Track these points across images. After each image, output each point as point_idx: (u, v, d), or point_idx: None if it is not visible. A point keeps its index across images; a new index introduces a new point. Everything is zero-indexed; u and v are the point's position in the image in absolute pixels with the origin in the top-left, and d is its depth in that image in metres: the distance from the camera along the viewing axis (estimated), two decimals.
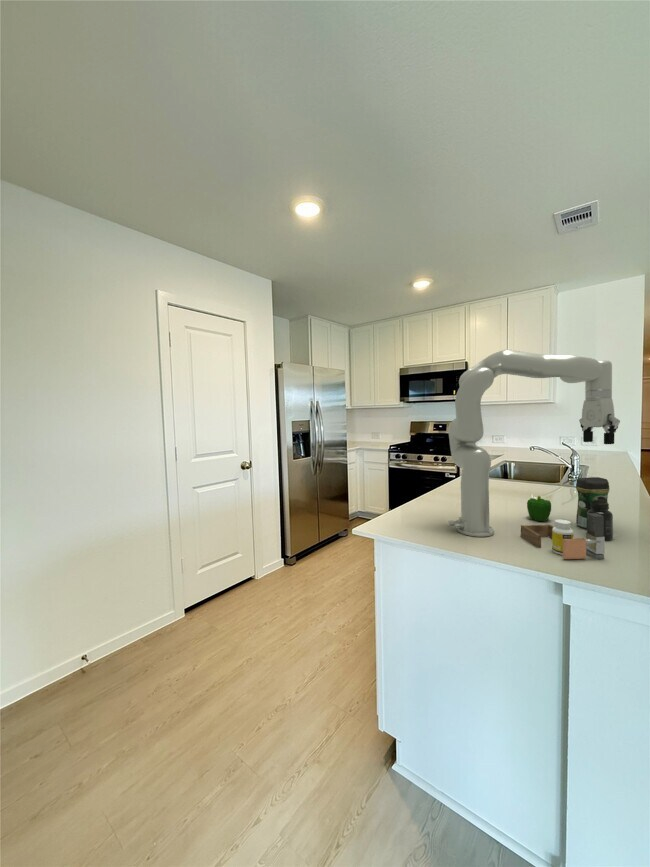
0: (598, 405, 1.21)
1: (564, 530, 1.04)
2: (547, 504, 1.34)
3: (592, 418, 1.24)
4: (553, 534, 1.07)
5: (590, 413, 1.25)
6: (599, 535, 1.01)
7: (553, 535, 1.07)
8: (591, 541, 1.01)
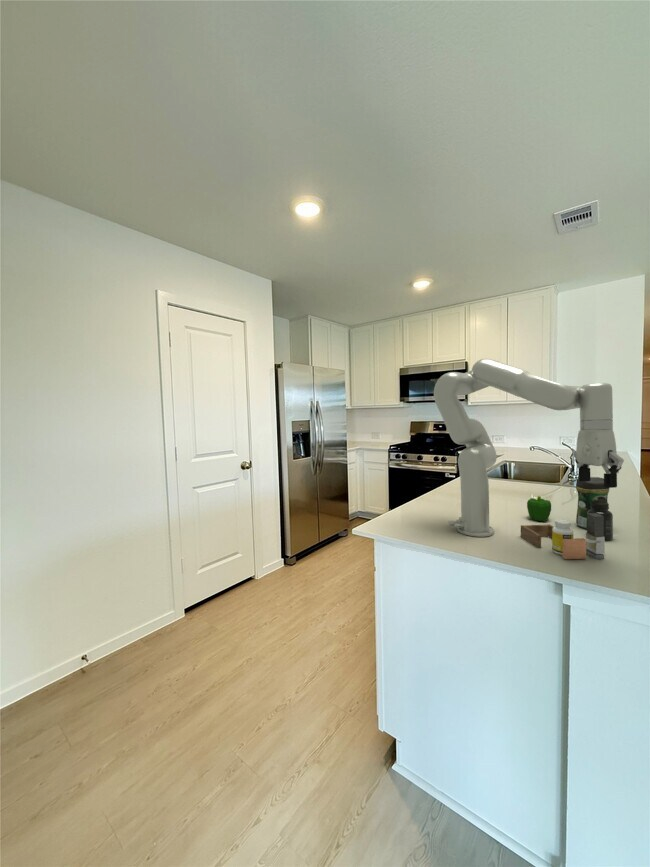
0: (596, 439, 0.98)
1: (564, 530, 1.04)
2: (547, 504, 1.34)
3: (589, 454, 1.00)
4: (553, 534, 1.07)
5: (586, 447, 1.01)
6: (599, 535, 1.01)
7: (553, 535, 1.07)
8: (591, 541, 1.01)
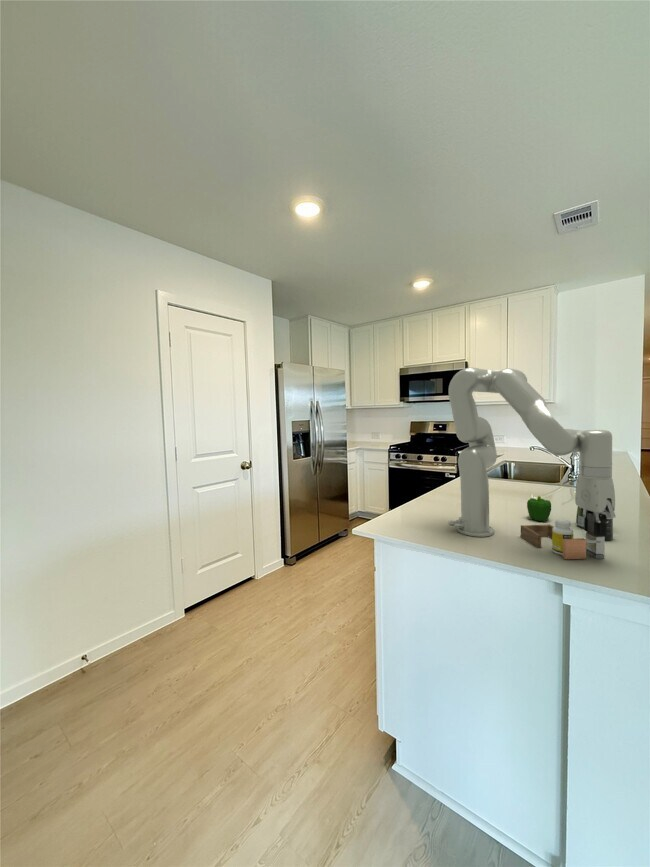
0: (595, 486, 0.98)
1: (564, 530, 1.04)
2: (547, 504, 1.34)
3: (588, 500, 1.01)
4: (553, 534, 1.07)
5: (585, 493, 1.02)
6: None
7: (553, 535, 1.07)
8: (591, 541, 1.01)
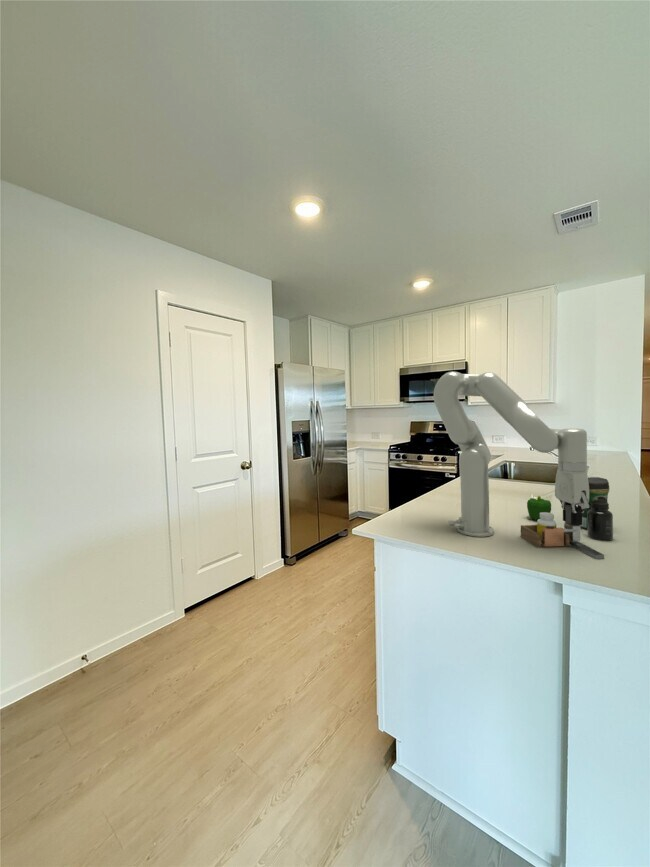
0: (571, 480, 1.08)
1: (547, 522, 1.12)
2: (547, 504, 1.34)
3: (565, 492, 1.11)
4: (538, 526, 1.14)
5: (563, 486, 1.12)
6: None
7: (538, 527, 1.14)
8: (568, 530, 1.10)
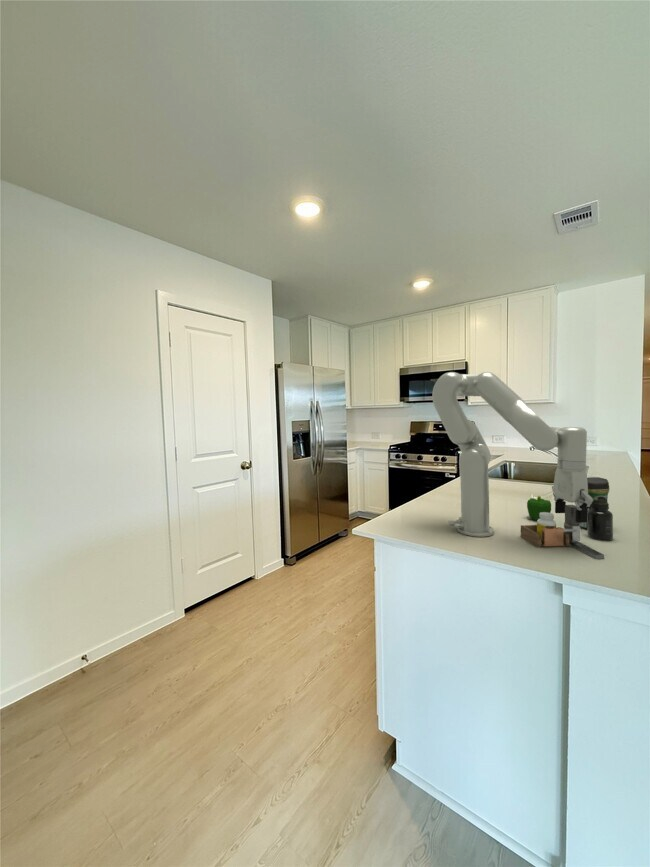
0: (570, 478, 1.08)
1: (547, 522, 1.12)
2: (547, 504, 1.34)
3: (564, 490, 1.11)
4: (537, 525, 1.15)
5: (562, 484, 1.12)
6: (575, 524, 1.11)
7: (537, 526, 1.15)
8: (568, 530, 1.10)
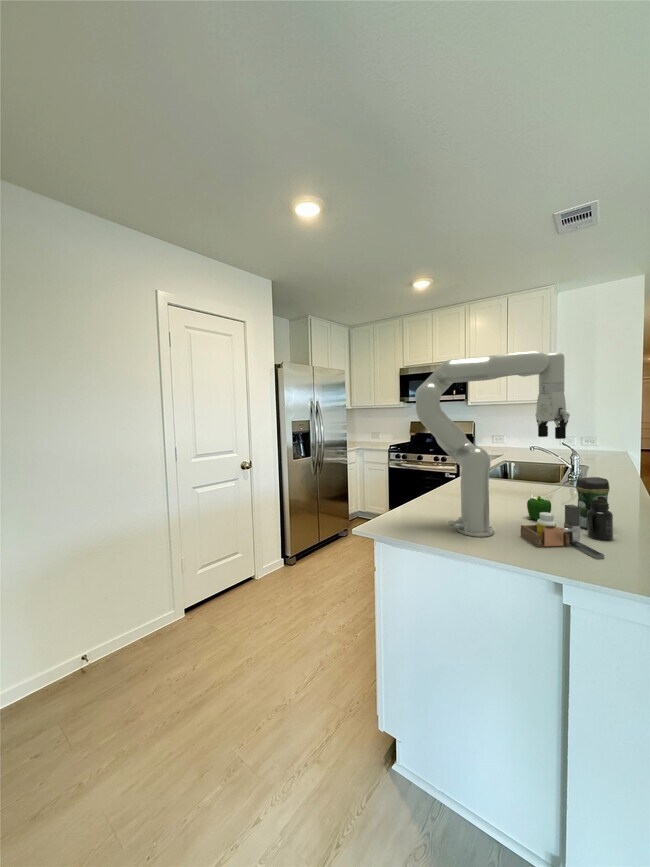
0: (549, 399, 1.18)
1: (547, 522, 1.12)
2: (547, 504, 1.34)
3: (544, 412, 1.21)
4: (537, 525, 1.15)
5: (543, 407, 1.22)
6: (575, 524, 1.11)
7: (537, 526, 1.15)
8: (568, 530, 1.10)
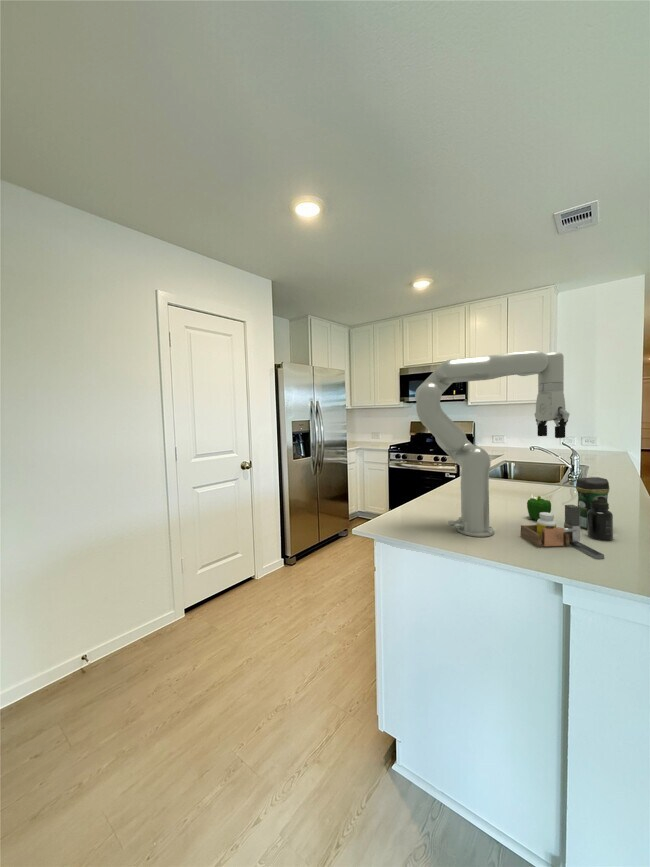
0: (549, 398, 1.19)
1: (547, 522, 1.12)
2: (547, 504, 1.34)
3: (544, 411, 1.21)
4: (537, 526, 1.15)
5: (542, 406, 1.22)
6: (575, 524, 1.11)
7: (537, 526, 1.15)
8: (568, 530, 1.10)
